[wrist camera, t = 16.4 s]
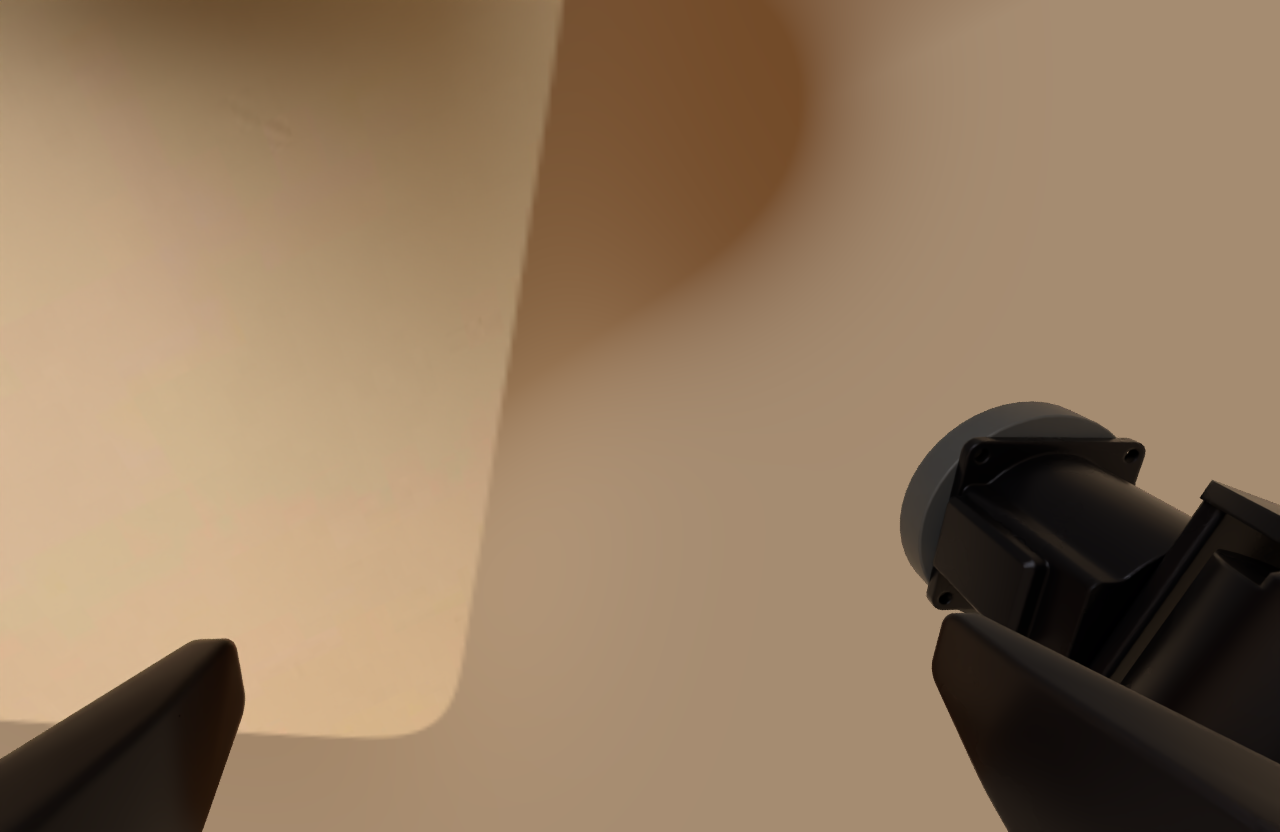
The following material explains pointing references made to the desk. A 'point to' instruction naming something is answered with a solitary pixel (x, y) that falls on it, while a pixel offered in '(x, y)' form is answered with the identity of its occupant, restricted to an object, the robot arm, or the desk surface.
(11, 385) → the desk surface
